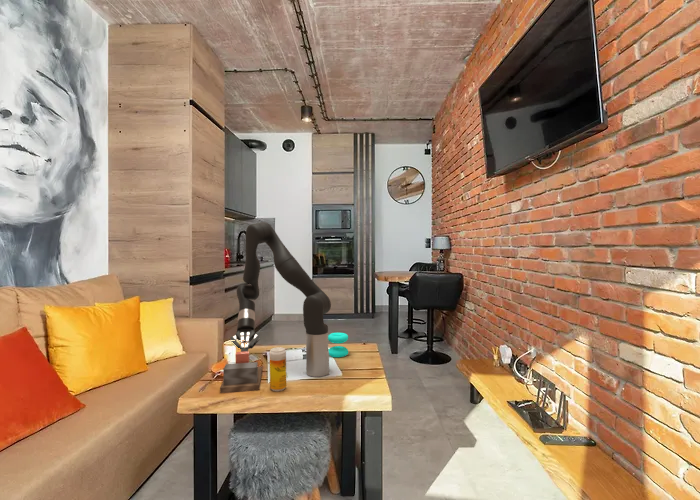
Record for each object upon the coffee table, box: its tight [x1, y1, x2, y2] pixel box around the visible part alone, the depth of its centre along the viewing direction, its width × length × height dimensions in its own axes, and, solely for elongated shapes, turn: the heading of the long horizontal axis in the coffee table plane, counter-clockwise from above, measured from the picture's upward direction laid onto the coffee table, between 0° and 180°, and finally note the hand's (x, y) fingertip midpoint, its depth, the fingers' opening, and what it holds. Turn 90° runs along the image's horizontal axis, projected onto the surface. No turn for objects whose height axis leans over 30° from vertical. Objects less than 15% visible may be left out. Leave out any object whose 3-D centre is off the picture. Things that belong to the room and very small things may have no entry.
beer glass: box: [269, 346, 287, 392], centre depth 140 cm, size 6×6×15 cm
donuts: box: [328, 332, 349, 358], centre depth 179 cm, size 10×10×10 cm
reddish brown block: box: [235, 350, 251, 364], centre depth 148 cm, size 5×3×9 cm, turn 100°
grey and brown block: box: [219, 361, 263, 394], centre depth 147 cm, size 14×20×8 cm
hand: (244, 357), depth 155 cm, fingers closed
